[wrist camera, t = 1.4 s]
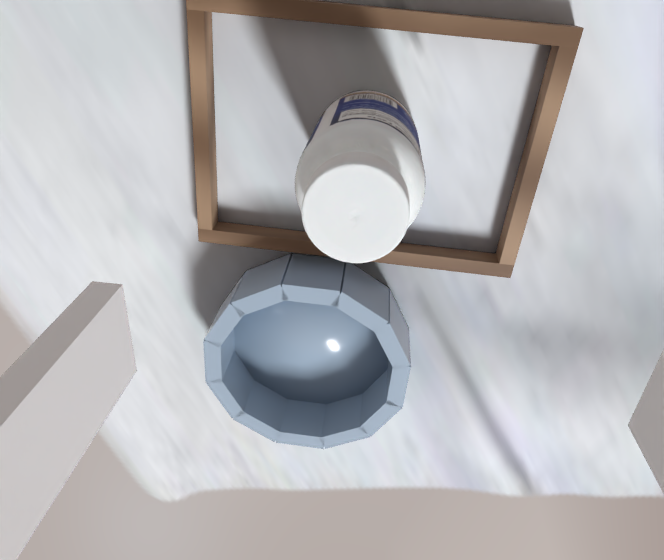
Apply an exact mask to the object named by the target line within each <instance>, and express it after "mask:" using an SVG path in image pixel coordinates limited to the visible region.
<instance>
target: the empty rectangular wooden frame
mask: <svg viewBox="0 0 664 560" xmlns="http://www.w3.org/2000/svg"><path fill="white" fill-rule="evenodd" d="M186 9H187V28H188V47H189V66H190V85H191V104H192V123H193V142H194V161H195V180H196V199H197V218H198V237H199V241H200V242H209V243H217V244H226V245H234V246H243V247H252V248H260V249H269V250H277V251H286V252H294V253H303V254H311V255H320V256H328V255H326V254H325V253H323V252H322V251H321V250H319V249H318V248H317V247H316V246H315V245H314V244H313V242H312V241H311V240H310V238H309V237H308V235H307V233H306V232H305V231H296V230H288V229H279V228H270V227H262V226H253V225H244V224H236V223H227V222H218V202H217V170H216V138H215V106H214V74H213V42H212V12H219V13H229V14H239V15H249V16H259V17H269V18H279V19H290V20H300V21H310V22H320V23H330V24H340V25H350V26H360V27H370V28H381V29H391V30H401V31H411V32H421V33H431V34H441V35H451V36H461V37H472V38H482V39H492V40H502V41H512V42H522V43H532V44H542V45H552V46H551V50H550V54H549V57H548V61H547V65H546V68H545V72H544V76H543V80H542V83H541V87H540V91H539V94H538V98H537V102H536V106H535V109H534V113H533V117H532V120H531V124H530V128H529V132H528V135H527V139H526V143H525V146H524V150H523V154H522V158H521V161H520V165H519V169H518V172H517V176H516V180H515V183H514V187H513V191H512V195H511V198H510V202H509V206H508V209H507V213H506V217H505V221H504V224H503V228H502V232H501V235H500V239H499V243H498V247H497V250H496V254H495V253H486V252H478V251H469V250H460V249H452V248H443V247H434V246H426V245H417V244H409V243H399V244H398V245H397V246H396V247H395V248H394V249H393V250H392V251H391V252H390V253H388V254H387V255H385V256H384V257H381V258H379V259H376V260H373V261H371V262H379V263H388V264H396V265H405V266H413V267H422V268H430V269H439V270H447V271H456V272H464V273H473V274H481V275H490V276H498V277H507V278H510V277H511V274H512V271H513V267H514V264H515V260H516V257H517V254H518V250H519V247H520V243H521V240H522V236H523V233H524V230H525V226H526V223H527V219H528V216H529V213H530V209H531V206H532V202H533V199H534V196H535V192H536V189H537V185H538V182H539V179H540V175H541V172H542V168H543V165H544V161H545V158H546V155H547V151H548V148H549V144H550V141H551V138H552V134H553V131H554V127H555V124H556V121H557V117H558V114H559V110H560V107H561V104H562V100H563V97H564V93H565V90H566V86H567V83H568V80H569V76H570V73H571V69H572V66H573V63H574V59H575V56H576V52H577V49H578V46H579V42H580V39H581V35H582V32H583V28H582V27H578V26H574V25H564V24H553V23H543V22H533V21H522V20H512V19H502V18H492V17H481V16H471V15H461V14H450V13H440V12H430V11H419V10H409V9H399V8H389V7H378V6H368V5H358V4H347V3H337V2H327V1H317V0H186ZM328 257H330V256H328Z"/></svg>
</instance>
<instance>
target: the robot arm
mask: <svg viewBox="0 0 664 560" xmlns="http://www.w3.org/2000/svg"><path fill="white" fill-rule="evenodd" d="M136 371H137V369H136V363H135V357H134V351H133V345H132V339H131V333H130V327H129V321H128V315H127V309H126V303H125V297H124V291H123V285H122V284H112V283H102V282H93V281H92V282H91V283H90V284H89V286H88V287H87V288H86V289H85V290H84V291H83V292H82V293H81V294H80V295H79V296H78V297H77V298H76V299H75V300H74V301H73V302H72V303H71V304H70V305H69V306H68V307H67V308H66V309H65V310H64V311H63V312H62V314H61V315H60V316H59V317H58V318H57V319H56V320H55V321H54V322H53V323H52V324H51V325H50V326H49V327H48V328H47V329H46V330H45V331H44V332H43V333H42V334H41V335H40V336H39V337H38V338H37V339H36V341H35V342H34V343H33V344H32V345H31V346H30V347H29V348H28V349H27V350H26V351H25V352H24V353H23V354H22V355H21V356H20V357H19V358H18V359H17V360H16V361H15V362H14V363H13V364H12V366H10V368H9V369H8V370H7V371H6V372H5V373H4V374H3V375H2V376H1V377H0V560H17V558H18V557H19V555H20V553H21V552H22V550H23V549H24V547H25V546H26V544H27V542H28V541H29V539H30V538H31V536H32V535H33V533H34V531H35V530H36V528H37V527H38V525H39V524H40V522H41V520H42V519H43V517H44V516H45V514H46V513H47V511H48V509H49V507H50V506H51V505H52V503H53V502H54V500H55V498H56V497H57V495H58V494H59V492H60V491H61V489H62V487H63V486H64V484H65V483H66V481H67V480H68V478H69V476H70V475H71V473H72V472H73V470H74V469H75V467H76V465H77V464H78V462H79V461H80V459H81V458H82V456H83V454H84V453H85V451H86V450H87V448H88V447H89V445H90V443H91V442H92V440H93V439H94V437H95V436H96V434H97V432H98V431H99V429H100V428H101V426H102V425H103V423H104V421H105V420H106V418H107V417H108V415H109V414H110V412H111V410H112V409H113V407H114V406H115V404H116V403H117V401H118V399H119V398H120V396H121V395H122V393H123V392H124V390H125V388H126V387H127V385H128V384H129V382H130V381H131V379H132V378H133V376H134V374H135V373H136ZM628 426H629V428H630V430H631V432H632V434H633V436H634V438H635V440H636V442H637V444H638V446H639V448H640V449H641V451H642V453H643V455H644V457H645V459H646V461H647V463H648V465H649V467H650V469H651V470H652V472H653V474H654V476H655V478H656V480H657V482H658V484H659V486H660V488H661V490H662V492H663V493H664V350H663V352H662V354H661V356H660V358H659V360H658V363H657V365H656V367H655V369H654V371H653V373H652V375H651V377H650V379H649V382H648V384H647V386H646V388H645V390H644V392H643V394H642V396H641V398H640V400H639V403H638V405H637V407H636V409H635V411H634V413H633V415H632V417H631V419H630V422H629V424H628Z"/></svg>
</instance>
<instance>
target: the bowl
mask: <svg viewBox="0 0 664 560" xmlns="http://www.w3.org/2000/svg"><path fill="white" fill-rule="evenodd" d="M204 359H205V378H206V383H207V385H208V386H209V387H210V389H211V390H212V392H213V393H214V394H215V396H216V397H217V398H218V400H219V401H220V403H221V404H222V405H223V407H224V408H225V409H226V411H227V412H228V413H229V415H230V416H231V418H233V419H234V420H235V421H237V422H239V423H241V424H243V425H245V426H246V427H248V428H250V429H252V430H254V431H255V432H257V433H259V434H261V435H263V436H264V437H266V438H268V439H270V440H272V441H274V442H275V441H276V443H284V444H291V445H299V446H306V447H314V448H321V449H324V448H325V449H326V448H330V447H334V446H338V445H341V444H345V443H349V442H353V441H357V440H361V439H364V438H368V437H370V436H372V435H373V434H374V433H375V432H376V431H377V430H378V429H380V428H381V427H382V426H383V425H384V424H385V423H386V422H387V421H388V420H389V419H391V418H392V417H393V416H394V415H395V414H396V413H397V412H398V411H399V410H400V409H402V407H403V403H404V398H405V393H406V388H407V383H408V378H409V373H410V368H411V361H410V341H409V328H408V326H407V324H406V322H405V320H404V318H403V315H402V313H401V311H400V309H399V307H398V305H397V303H396V301H395V299H394V297H393V295H392V292H391V290H390V289H389V288H388V287H387V286H385V285H384V284H382V283H381V282H379V281H378V280H376V279H375V278H373V277H372V276H370V275H369V274H367V273H366V272H364V271H363V270H361V269H360V268H358V267H357V266H355V265H354V264H352V263H349V262H342V261H339V260H336V259H334V258H329V257H321V256H312V255H304V254H295V253H293V254H288V255H286V256H283V257H281V258H278V259H276V260H273V261H270V262H268V263H265V264H263V265H260V266H258V267H255V268H252V269H250V270H247V271H246V272H245V273H244V274H243V275H242V277H241V278H240V280H239V281H238V282H237V284H236V285H235V287H234V288H233V290H232V291H231V292H230V294H229V295H228V297H227V298H226V299H225V301H224V302H223V304H222V305H221V307H220V309H219V311H218V313H217V315H216V317H215V319H214V321H213V323H212V324H211V326H210V328H209V330H208V332H207V334H206V336H205V338H204Z"/></svg>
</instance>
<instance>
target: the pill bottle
mask: <svg viewBox="0 0 664 560" xmlns="http://www.w3.org/2000/svg"><path fill="white" fill-rule="evenodd" d="M295 193H296V199H297V202H298V205H299V208H300V210H301V212H302V221H303V226H304V228H305V231H306V233H307V235H308V237H309V238H310V240H311V241H312V242H313V244H314V245H315V246H316V247H317V248H318V249H319V250H321V251H322V252H323V253H325V254H326V255H328V256H330V257H332V258H334V259H336V260H339V261H342V262H349V263H365V262H370V261H373V260H376V259H379V258H381V257H384V256H385V255H387V254H388V253H390V252H391V251H392V250H393V249H394V248H395V247H396V246H397V245H398V244H399V243H400V241H401V240H402V239H403V237H404V235H405V233H406V230H407V228H408V227H409V226H410V225H411V224H412V223H413V221H414V220H415V218H416V216H417V215H418V213H419V211H420V209H421V206H422V203H423V199H424V194H425V171H424V167H423V161H422V156H421V150H420V144H419V138H418V133H417V130H416V127H415V124H414V121H413V119H412V117H411V116H410V114H409V113H408V111H407V110H406V109H405V107H404V106H403V105H402V104H401V103H399V102H398V101H397V100H396V99H394V98H392V97H391V96H389V95H386V94H384V93H380V92H376V91H356V92H352V93H349V94H346V95H344V96H342V97H340V98H339V99H337V100H336V101H335V102H333V103H332V104H331V105H330V106H329V107H328V108H327V109H326V111H325V112H324V113H323V114H322V116H321V117H320V119H319V121H318V123H317V124H316V126H315V129H314V131H313V133H312V135H311V137H310V139H309V141H308V143H307V145H306V147H305V149H304V151H303V153H302V155H301V157H300V160H299V163H298V166H297V171H296V176H295Z"/></svg>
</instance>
